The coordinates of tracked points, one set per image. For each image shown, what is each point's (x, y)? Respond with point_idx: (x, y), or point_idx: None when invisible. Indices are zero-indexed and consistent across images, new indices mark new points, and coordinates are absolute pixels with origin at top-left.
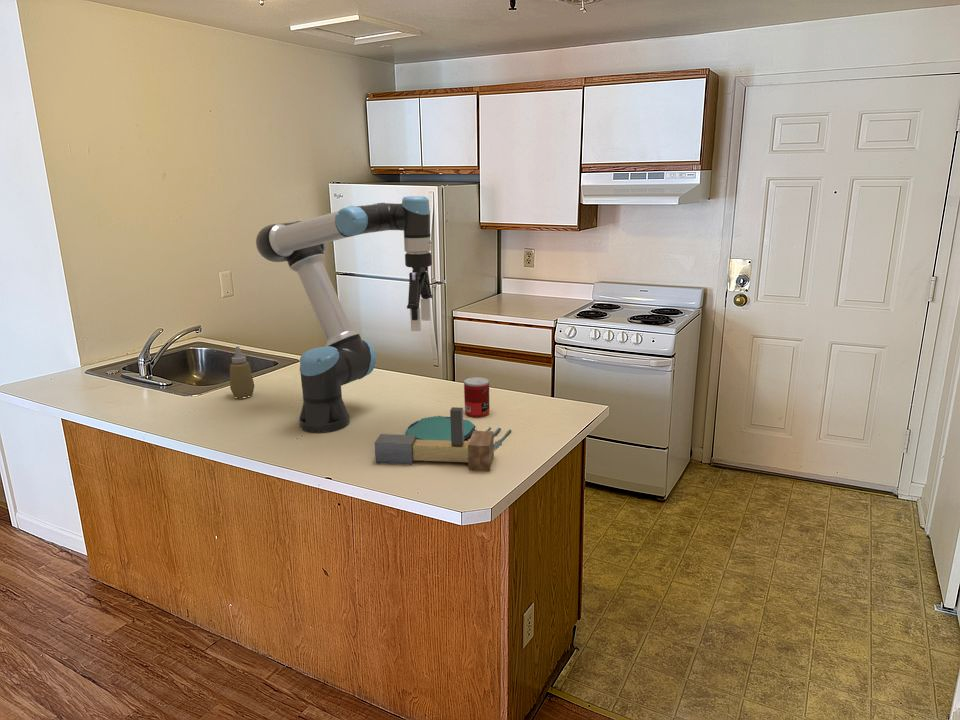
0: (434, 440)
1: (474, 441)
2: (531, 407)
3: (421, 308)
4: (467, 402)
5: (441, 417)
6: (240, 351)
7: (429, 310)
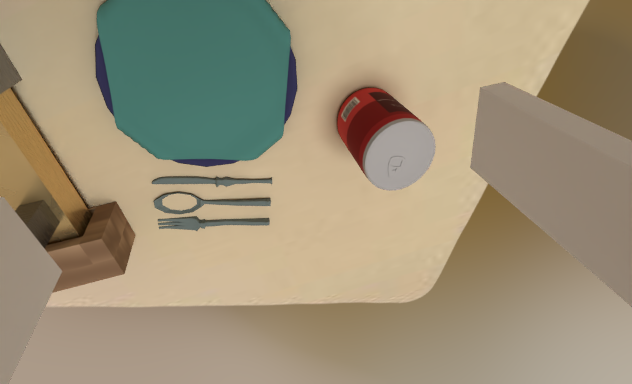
0: (19, 154)
1: None
2: (414, 208)
3: (585, 149)
4: (353, 116)
5: (284, 52)
6: None
7: (538, 222)
